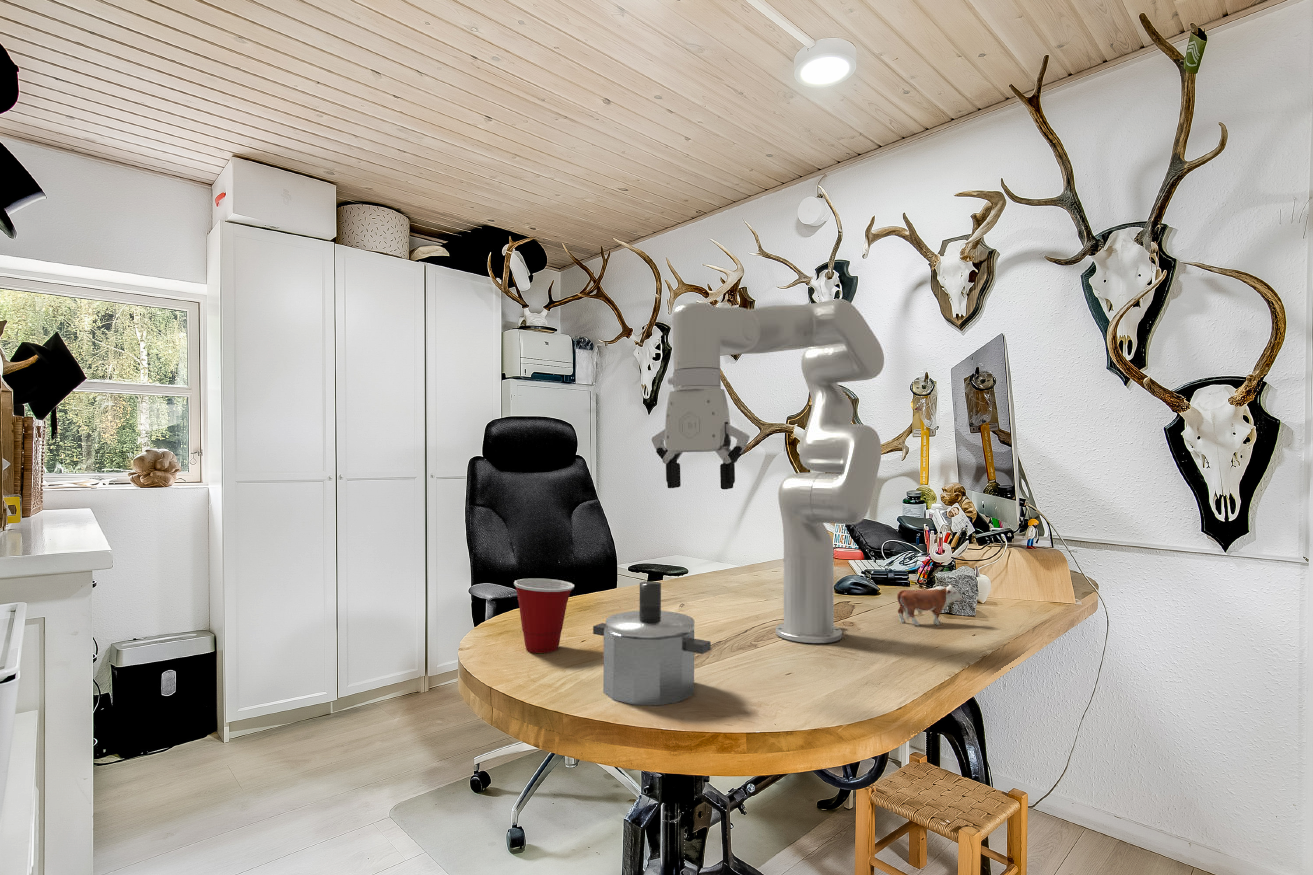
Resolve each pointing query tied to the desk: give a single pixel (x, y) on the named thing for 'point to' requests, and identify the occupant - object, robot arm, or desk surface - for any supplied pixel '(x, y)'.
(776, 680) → the desk surface
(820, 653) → the desk surface
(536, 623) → the plastic cup
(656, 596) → the lid
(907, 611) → the bull figurine
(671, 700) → the pot
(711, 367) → the robot arm
